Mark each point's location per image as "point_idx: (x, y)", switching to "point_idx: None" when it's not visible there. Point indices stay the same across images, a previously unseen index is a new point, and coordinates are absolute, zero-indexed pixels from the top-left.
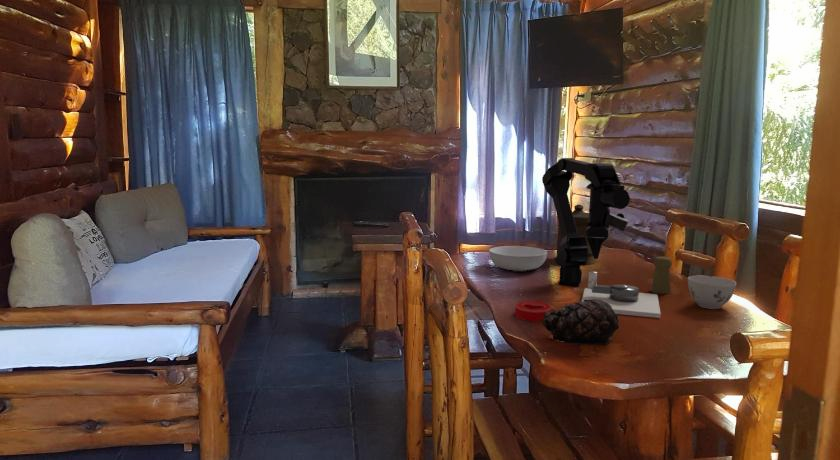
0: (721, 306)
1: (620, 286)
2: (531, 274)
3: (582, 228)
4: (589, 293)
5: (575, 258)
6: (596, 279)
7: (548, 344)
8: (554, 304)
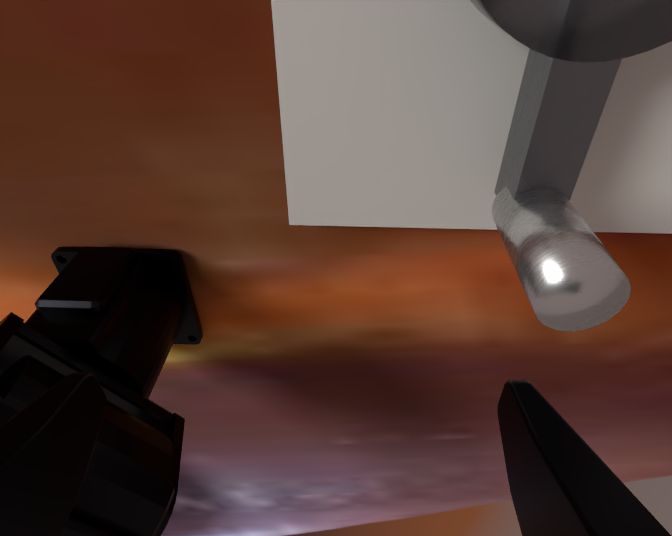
0: None
1: None
2: None
3: None
4: (435, 193)
5: (136, 437)
6: (581, 224)
7: None
8: (617, 332)
